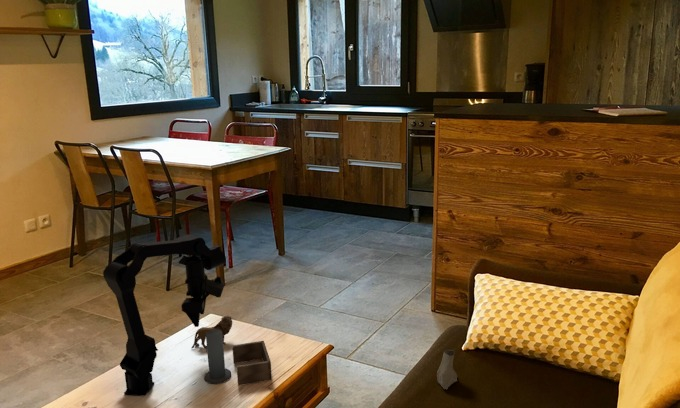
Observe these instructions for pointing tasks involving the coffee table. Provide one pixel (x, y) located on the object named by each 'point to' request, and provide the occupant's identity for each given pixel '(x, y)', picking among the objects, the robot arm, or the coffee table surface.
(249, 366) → the crate
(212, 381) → the coaster
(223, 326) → the lion figurine
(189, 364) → the coffee table surface
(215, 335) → the grey post
